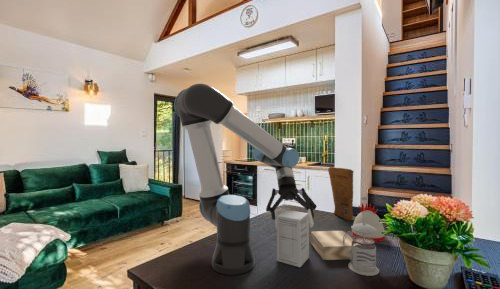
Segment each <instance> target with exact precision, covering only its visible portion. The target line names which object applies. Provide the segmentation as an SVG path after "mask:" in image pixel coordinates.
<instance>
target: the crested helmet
mask: <svg viewBox="0 0 500 289" xmlns="http://www.w3.org/2000/svg"><path fill="white" fill-rule="evenodd" d="M358 208H359V211H360V212H359V213H358V214H357V216H355V217H354V218H353V224H352V226H353V225H354V224H358V223H363V217H364V223H365V224H368V225H371V226H373V227H374V228H375V229H376V230H377V232H376V233H374V234H364V237H367V238H371V239H373V240H374V241H375V243H377V242H378V241H379V242H383V241H385V240H384V239H386V234H385V235H384V234H382V233H380V232H382V231H385V227H384V224H383V222H382V223H380V222H379V220H381V218H380V217H379V215H377V212H378V211H379V210H378V209H376V210H375V206H373V207H372V204H371V203H369V207H368V203H367V202H366V203H365V205H364V202H362V203H361V206H360V205H359V204H358ZM351 232H352V233H353V236H352V237H356V236H361V237H363V233H359V232H356V231H354V230H352V229H351ZM382 240H383V241H382Z"/></svg>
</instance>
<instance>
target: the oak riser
mask: <svg viewBox="0 0 500 289" xmlns="http://www.w3.org/2000/svg"><path fill="white" fill-rule="evenodd" d="M345 233H346V232H345V231H344V230H321V231H319V230H318V231H317V230H316V231H315V230H313V231H310V244H311V245H312V246H313V248H314V249H315V251H316V253H317V254H318V255H319V256H320V257H321V259H322V260H323V261H336V260H351V254H350V253H351V252H350V251H352V241H353V239H352V238H353V237H352V236H351V235H349V234H348V233H347V234H348V235H347V234H346V235H347V236H346V235H345ZM344 235H345V236H346V238H345V236H344ZM343 236H344V239H345V242H344V245H345V247H344V245H343ZM355 245H360V244H357V243H356V244H354V245H353V246H355ZM357 247H358V246H357ZM345 248H346V249H348V250H349V251H348V250H347V251H348V252H347V251H346V250H345ZM358 248H361V247H358ZM349 252H350V253H349ZM357 254H358V253H357Z"/></svg>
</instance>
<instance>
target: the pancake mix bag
mask: <svg viewBox="0 0 500 289" xmlns="http://www.w3.org/2000/svg"><path fill="white" fill-rule="evenodd" d="M327 169H328V170H327V171H328V175H329V180H330V185H331V190H332V191H331V192H332V197H333V198H332V199H333V204H334V210H333V214H334V215H335V216H336V217H339V218H342V219H344V220H346V221H354V218H353V217H354V216H353V214H354V213H353V206H354V205H353V204H354V203H353V202H354V170H353V169H351V168H343V167H333V166H330V167H329V168H327Z"/></svg>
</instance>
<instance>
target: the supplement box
mask: <svg viewBox="0 0 500 289" xmlns="http://www.w3.org/2000/svg"><path fill="white" fill-rule="evenodd" d="M309 258H310V224H309V213H307V212H302V211H296V210H290V209H285V210H284V211H282V212H281V213H279V214H277V229H276V262H280V263H283V264H286V265H290V266H294V267H296V268H297V267H298V268H301V267H302V266H303V265H304V264H305V263H306V261H307V260H308V259H309Z"/></svg>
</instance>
